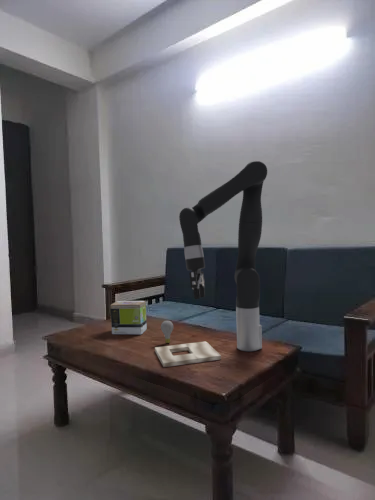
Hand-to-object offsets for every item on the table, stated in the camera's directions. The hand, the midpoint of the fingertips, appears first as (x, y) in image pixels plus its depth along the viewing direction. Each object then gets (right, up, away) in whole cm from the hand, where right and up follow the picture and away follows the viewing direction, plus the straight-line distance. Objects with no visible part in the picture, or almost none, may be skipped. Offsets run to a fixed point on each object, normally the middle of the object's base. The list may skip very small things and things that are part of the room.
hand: (200, 297), depth 142 cm
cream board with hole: (-5, -22, -1) cm, 23 cm away
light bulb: (-14, -22, +14) cm, 29 cm away
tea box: (-33, -21, +33) cm, 52 cm away
